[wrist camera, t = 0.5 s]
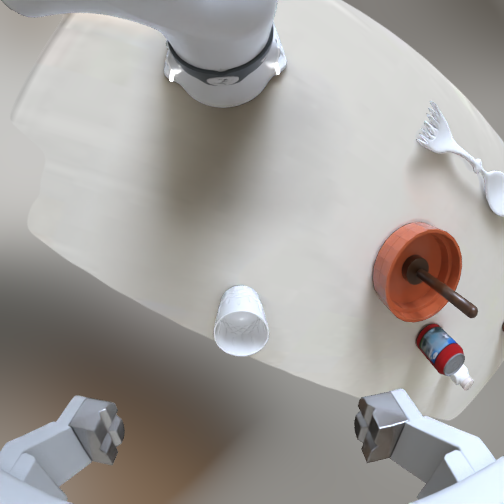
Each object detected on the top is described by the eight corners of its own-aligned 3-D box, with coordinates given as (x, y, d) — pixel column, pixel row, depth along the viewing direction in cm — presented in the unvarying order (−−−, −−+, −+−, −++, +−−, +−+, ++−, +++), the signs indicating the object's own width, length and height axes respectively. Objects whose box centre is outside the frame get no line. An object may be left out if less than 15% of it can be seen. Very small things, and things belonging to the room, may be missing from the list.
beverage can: (433, 316, 54) (463, 345, 42) (441, 333, 55) (470, 361, 44) (410, 337, 55) (437, 369, 43) (420, 352, 56) (446, 383, 45)
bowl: (374, 223, 47) (390, 231, 41) (448, 220, 47) (467, 227, 42) (366, 313, 52) (379, 329, 46) (436, 301, 52) (452, 314, 47)
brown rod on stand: (403, 255, 48) (468, 300, 30) (425, 253, 48) (491, 294, 30) (399, 282, 50) (458, 334, 31) (421, 279, 50) (482, 327, 32)
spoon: (422, 101, 40) (432, 98, 37) (511, 187, 46) (521, 189, 42) (407, 141, 43) (417, 141, 39) (499, 221, 48) (509, 225, 45)
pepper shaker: (456, 364, 59) (475, 385, 50) (445, 372, 60) (462, 394, 50) (456, 355, 58) (475, 376, 49) (444, 363, 58) (462, 385, 49)
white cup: (233, 273, 48) (232, 300, 39) (272, 296, 50) (280, 327, 40) (208, 308, 50) (203, 341, 41) (246, 329, 52) (248, 364, 42)
